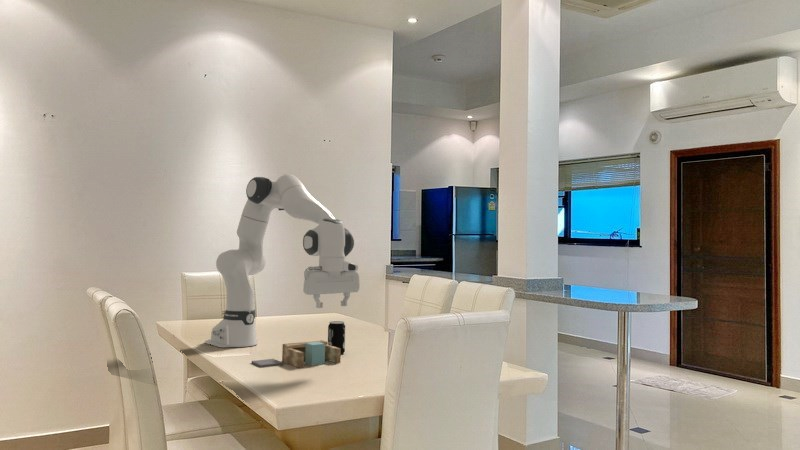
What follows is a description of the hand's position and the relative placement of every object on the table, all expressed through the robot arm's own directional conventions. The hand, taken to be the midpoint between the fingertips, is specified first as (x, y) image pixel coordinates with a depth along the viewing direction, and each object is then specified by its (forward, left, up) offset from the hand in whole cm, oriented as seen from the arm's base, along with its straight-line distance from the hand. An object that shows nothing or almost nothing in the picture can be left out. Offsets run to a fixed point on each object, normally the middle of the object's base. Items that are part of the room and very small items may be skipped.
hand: (331, 306), depth 198 cm
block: (-10, +3, -21) cm, 23 cm away
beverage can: (-16, +22, -21) cm, 34 cm away
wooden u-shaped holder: (-12, +4, -21) cm, 24 cm away
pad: (-22, -8, -21) cm, 31 cm away
